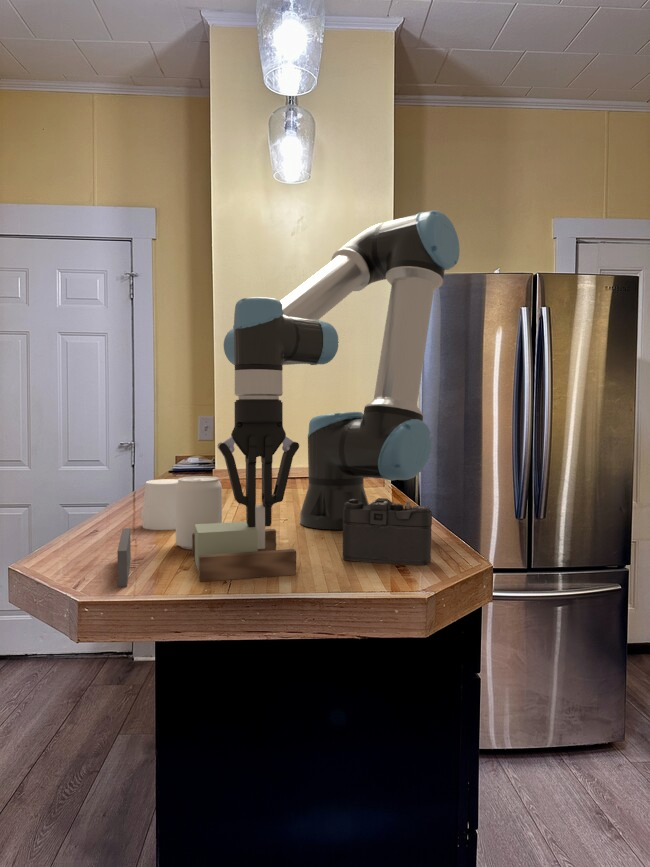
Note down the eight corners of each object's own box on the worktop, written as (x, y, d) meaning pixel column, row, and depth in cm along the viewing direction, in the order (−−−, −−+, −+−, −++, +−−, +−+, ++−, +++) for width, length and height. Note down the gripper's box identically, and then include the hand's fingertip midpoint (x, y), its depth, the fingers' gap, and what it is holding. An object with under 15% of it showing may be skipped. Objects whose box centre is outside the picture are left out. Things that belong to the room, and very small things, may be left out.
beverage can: (212, 551, 107) (211, 482, 106) (167, 549, 108) (167, 480, 108) (228, 541, 114) (228, 476, 114) (187, 539, 116) (186, 475, 115)
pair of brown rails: (274, 548, 109) (274, 528, 108) (296, 574, 92) (296, 551, 92) (192, 554, 105) (192, 533, 105) (200, 581, 89) (199, 557, 88)
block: (250, 557, 103) (250, 521, 103) (257, 568, 96) (257, 529, 96) (194, 561, 101) (194, 524, 100) (198, 572, 94) (197, 532, 94)
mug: (135, 483, 125) (149, 478, 133) (136, 530, 125) (149, 522, 133) (195, 484, 124) (205, 479, 132) (195, 530, 124) (205, 523, 132)
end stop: (130, 558, 102) (130, 528, 101) (127, 586, 86) (126, 550, 86) (122, 559, 101) (122, 528, 101) (118, 586, 86) (117, 551, 86)
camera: (433, 551, 107) (434, 494, 107) (430, 567, 97) (431, 504, 96) (351, 547, 110) (351, 491, 110) (339, 562, 100) (340, 500, 99)
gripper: (293, 398, 103) (293, 539, 104) (214, 398, 100) (215, 544, 101) (304, 398, 96) (304, 549, 97) (219, 397, 93) (220, 555, 94)
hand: (258, 546), depth 99 cm, fingers closed
